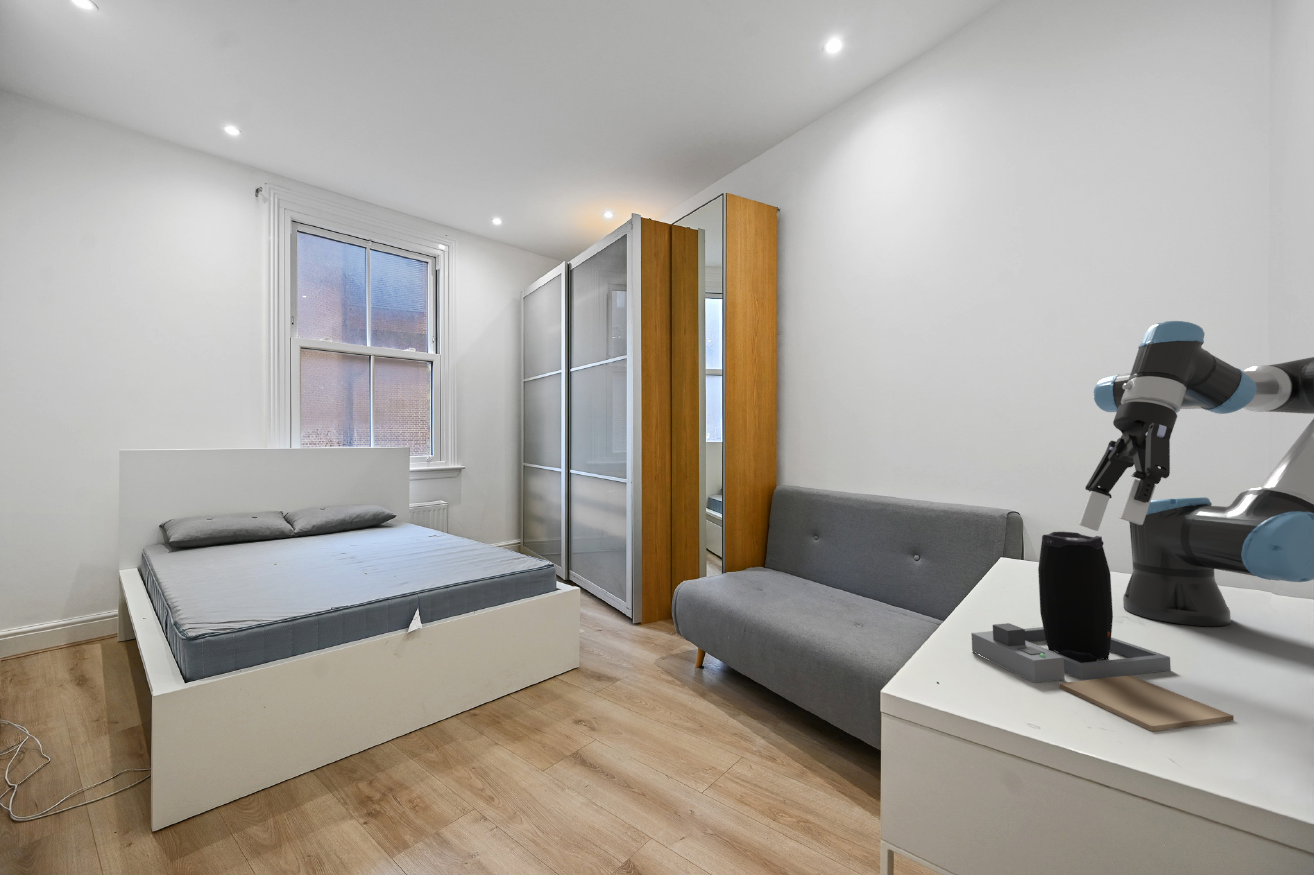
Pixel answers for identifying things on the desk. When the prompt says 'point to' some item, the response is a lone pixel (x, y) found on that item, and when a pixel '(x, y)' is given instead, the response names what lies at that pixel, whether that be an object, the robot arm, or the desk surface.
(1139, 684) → the cork mat
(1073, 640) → the portable speaker
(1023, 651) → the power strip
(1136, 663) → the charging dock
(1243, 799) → the desk surface
